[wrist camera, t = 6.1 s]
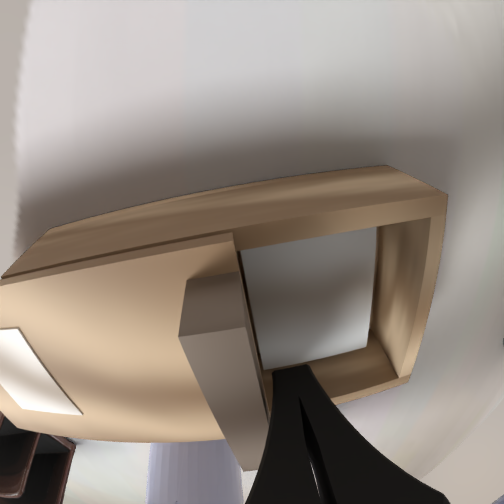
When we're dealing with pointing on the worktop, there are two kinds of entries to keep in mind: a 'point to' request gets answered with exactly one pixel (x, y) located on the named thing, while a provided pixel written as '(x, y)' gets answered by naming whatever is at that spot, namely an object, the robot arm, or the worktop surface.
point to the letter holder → (32, 465)
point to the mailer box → (300, 266)
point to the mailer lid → (136, 350)
